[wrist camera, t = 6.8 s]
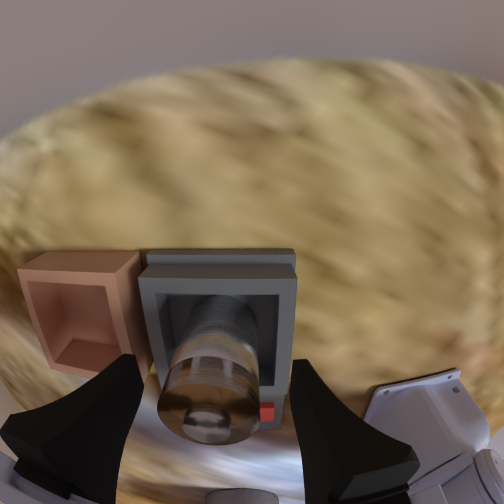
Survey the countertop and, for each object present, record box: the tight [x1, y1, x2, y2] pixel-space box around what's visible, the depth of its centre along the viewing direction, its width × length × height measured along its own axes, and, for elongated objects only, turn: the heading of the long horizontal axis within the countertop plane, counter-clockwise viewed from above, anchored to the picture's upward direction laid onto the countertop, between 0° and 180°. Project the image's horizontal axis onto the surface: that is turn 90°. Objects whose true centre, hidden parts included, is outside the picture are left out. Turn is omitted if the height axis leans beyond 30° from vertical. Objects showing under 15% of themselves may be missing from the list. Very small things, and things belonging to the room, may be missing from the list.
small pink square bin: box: [17, 251, 154, 383], centre depth 15 cm, size 7×7×4 cm
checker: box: [138, 249, 297, 430], centre depth 16 cm, size 8×15×3 cm, turn 0°
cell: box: [157, 295, 261, 445], centre depth 12 cm, size 4×4×8 cm
